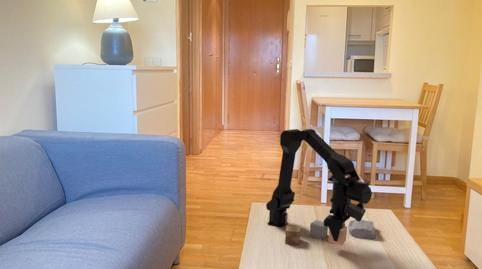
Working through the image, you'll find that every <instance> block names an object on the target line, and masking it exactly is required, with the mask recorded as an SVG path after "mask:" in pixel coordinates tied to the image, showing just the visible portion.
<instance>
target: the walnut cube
mask: <svg viewBox="0 0 482 269" xmlns="http://www.w3.org/2000/svg"><path fill="white" fill-rule="evenodd" d="M300 241H301V226H298V225H297V226H295V225H286V228H285V240H284V244H286V245H287V244H288V245H296V246H299V245H300Z"/></svg>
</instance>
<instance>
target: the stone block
mask: <svg viewBox="0 0 482 269" xmlns="http://www.w3.org/2000/svg"><path fill="white" fill-rule="evenodd" d="M348 223H349V224H348V226H347V230H348V234H349V235H350V236H351V237H353V238H357V239H369V240H375V237H376V236H375V235H376V228H375V225H374V221H370V220H366V219H361V221H360V222H359V221H356V219H353V220H350V221H349V222H348Z"/></svg>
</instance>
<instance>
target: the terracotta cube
mask: <svg viewBox="0 0 482 269" xmlns="http://www.w3.org/2000/svg"><path fill="white" fill-rule="evenodd" d="M347 230H348V226H346V225H345V226H344V227H343V228H342V229H340V233H339V237H338V240H337V241H334V239H333V237H332V234H331V232H330V230H329V229H328V243H331V244H336V245H338V246H344V244H345V242H346V241H347V234H348V233H347V232H348V231H347Z"/></svg>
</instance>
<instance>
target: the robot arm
mask: <svg viewBox="0 0 482 269" xmlns="http://www.w3.org/2000/svg"><path fill="white" fill-rule="evenodd" d="M303 141H304V142H306V143H307V145H309V147H310V148H311V149H313V151H314V152H315V153H317V154H318V156H320V157H321V158H322V159H323V161H325V164H326V167H327V170H328V171H329V172H330V173H331V176H330V177H328V178H327V181H329V182H331V183H332V190H331V193H332V194H331V197H330V201H329V202H330V203H331V207H330V209H329V214H328V215H327V216H325V218H324V219H323V222H324V226H327V227H328V231H329V230H330V232H331V234H332V237H333V239H334V241H337V240H338V237H339V233H340V229H342V228H343V227H344V226H346V224H345V223H346V221H348V220H350V218H352V219H353V220H356V221H359V222H360V221H361V220H363V218H364V215H365V213H366V208H365V207H364V206H365V205H367V204H368V203H369V202H370V200H371V199H372V196H373V192H372V188H371V187H370V183H369V182H366V181H364V182H363V181H360V180H361V178H360V176H359V174H358V172H357V170H356V168H355V165H354V162H353V160H351V159H349V158H348V157H346V156H344V155H343V154H340V153H338V152H337V151H335V149H334V148H332V146H330V145H329V144H328V143H327V142H326V141H325V140H324V139H323V138H322V137H321V136H320V135H318V133H317V132H316V130H315V129H313V128H307V129H302V130H300V129H299V128H298V129H297V128H293V129H286V130H282V132H281V133H280V137H279V145H280V148H281V150H282V155H281V161H280V162H281V163H280V170H279V175H278V176H279V177H278V183H277V186H276V187H275V189H274V190H273V193H272V195H271V199H270V200H269V201H268V202H267V203H266V204H265V206H266V210H267V211H269V216H268V217H269V218H268V221H267V222H266V223H267V225H269V226H272V227H279V228H283V227H284V226H285V225H286V224H287V223H288V215H289V214H288V212H287V209H290V208H291V205H292V204H293V202H295V195H296V192H294V191H293V190H292V188H291V187H292V181H293V180H292V179H293V172H294V166H295V161H296V160H295V159H296V154H297V151H299V149H300V147H301V146H302V142H303ZM351 201H354V202H358V203H352V202H351Z"/></svg>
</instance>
